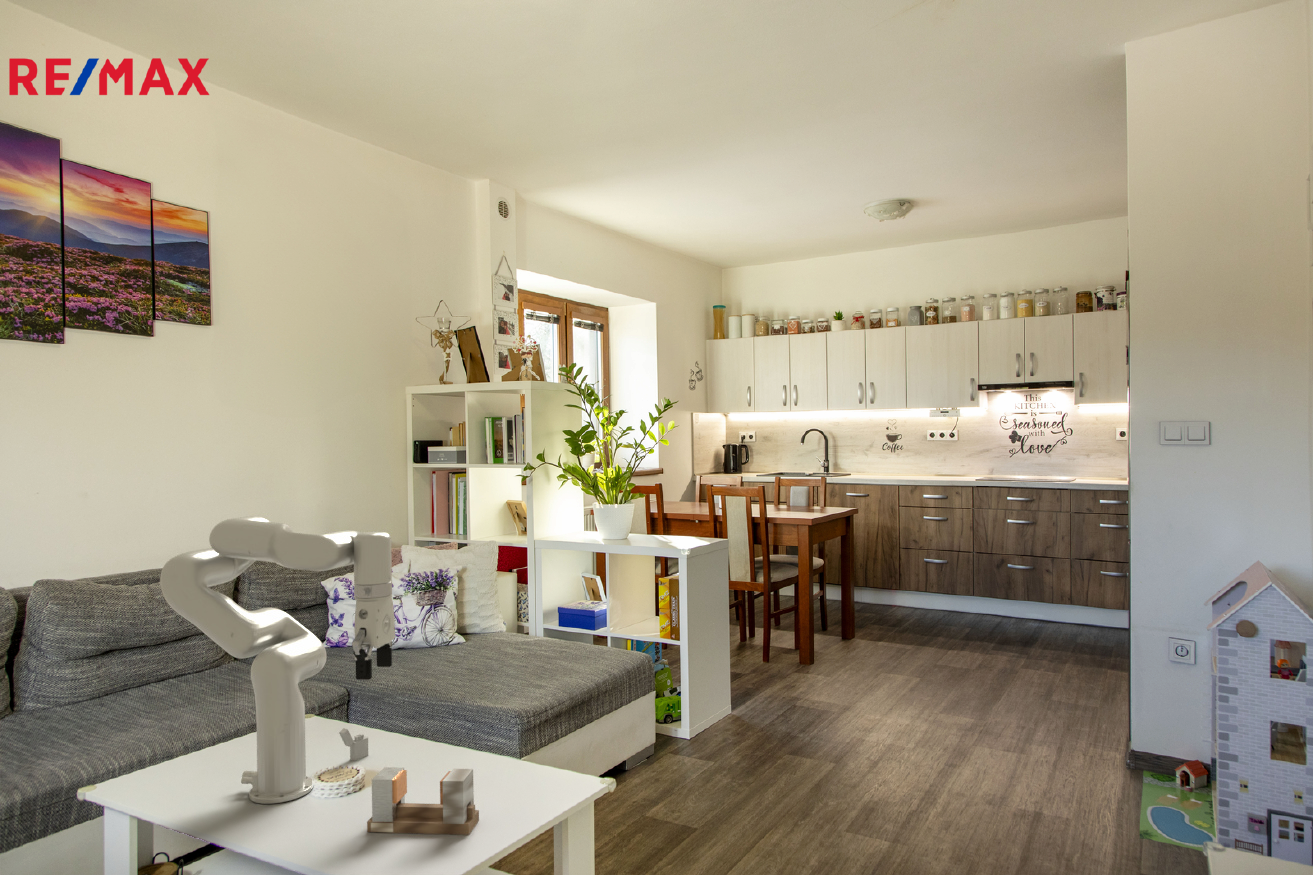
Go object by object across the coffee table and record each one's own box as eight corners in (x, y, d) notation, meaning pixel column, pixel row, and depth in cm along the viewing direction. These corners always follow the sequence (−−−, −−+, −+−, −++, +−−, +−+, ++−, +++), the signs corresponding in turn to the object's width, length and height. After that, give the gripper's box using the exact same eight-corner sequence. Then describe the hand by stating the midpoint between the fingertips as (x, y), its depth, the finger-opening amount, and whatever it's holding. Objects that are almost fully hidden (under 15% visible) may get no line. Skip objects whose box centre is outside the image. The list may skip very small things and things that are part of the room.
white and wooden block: (372, 821, 157) (371, 779, 157) (385, 808, 163) (384, 767, 163) (396, 822, 157) (395, 779, 157) (408, 808, 163) (407, 767, 163)
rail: (366, 832, 157) (366, 779, 157) (380, 818, 163) (380, 767, 163) (468, 835, 155) (467, 781, 155) (479, 820, 161) (478, 769, 161)
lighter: (363, 754, 198) (363, 720, 199) (368, 755, 198) (368, 721, 198) (339, 764, 192) (338, 729, 193) (344, 765, 192) (343, 730, 192)
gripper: (372, 598, 164) (373, 684, 164) (406, 584, 182) (408, 662, 181) (336, 598, 165) (337, 684, 165) (374, 584, 182) (375, 662, 182)
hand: (374, 672), depth 173 cm, fingers open, 9 cm apart
